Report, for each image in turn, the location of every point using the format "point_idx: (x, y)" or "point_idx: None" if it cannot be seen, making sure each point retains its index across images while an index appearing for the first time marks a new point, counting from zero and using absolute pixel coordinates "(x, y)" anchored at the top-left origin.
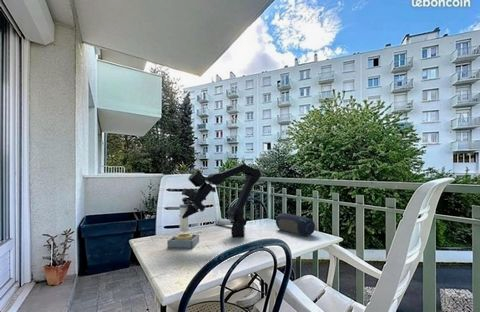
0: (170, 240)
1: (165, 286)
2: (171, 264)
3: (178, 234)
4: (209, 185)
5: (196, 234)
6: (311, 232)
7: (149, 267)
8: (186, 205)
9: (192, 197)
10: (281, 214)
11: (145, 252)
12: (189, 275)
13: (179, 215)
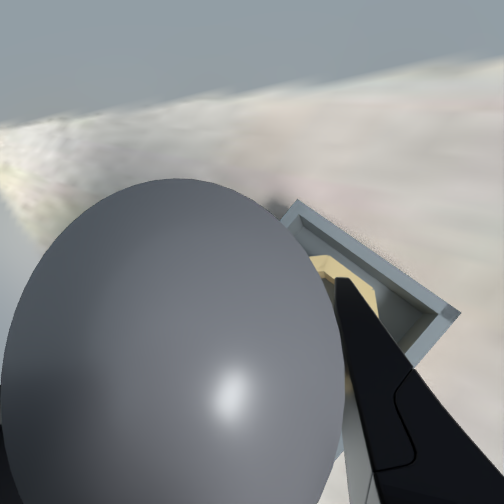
0: (287, 216)
1: (8, 139)
2: (105, 181)
3: (363, 296)
4: None
5: (336, 452)
6: None
7: (128, 115)
8: (7, 381)
9: None
10: None
11: (299, 111)
12: (12, 204)
13: (343, 278)
